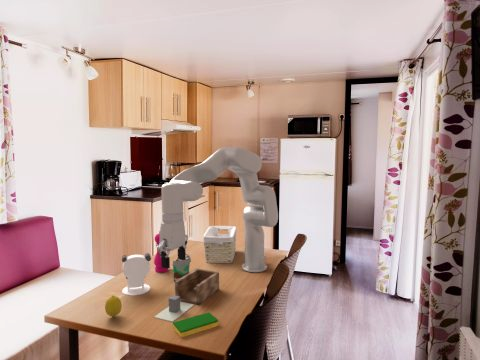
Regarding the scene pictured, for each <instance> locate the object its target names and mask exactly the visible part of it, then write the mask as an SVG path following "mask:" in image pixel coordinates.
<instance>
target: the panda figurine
mask: <svg viewBox="0 0 480 360" xmlns="http://www.w3.org/2000/svg"><path fill="white" fill-rule="evenodd" d="M151 260H152V257H151V254H150V252H149V253H148V252H147V253H145V254H131V255H129V256H127V255H126V254H125V255H122V256H121V262H122V273H123V275H124V276H125V278H126V280H127V285H126V286H125V287H124V288H122V291H121V293H122V295H126V296H133V297H134V296H140V295H143V294H146V293H147V292H148V293H149V291H150V290H151V287H150V285H149V284H147V283H145V278H146V276H148V275H149V273H150V272H151V264H150V261H151Z"/></svg>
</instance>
